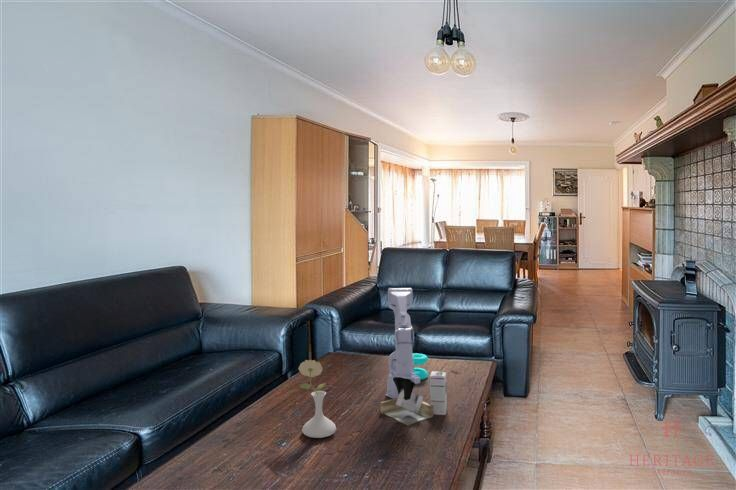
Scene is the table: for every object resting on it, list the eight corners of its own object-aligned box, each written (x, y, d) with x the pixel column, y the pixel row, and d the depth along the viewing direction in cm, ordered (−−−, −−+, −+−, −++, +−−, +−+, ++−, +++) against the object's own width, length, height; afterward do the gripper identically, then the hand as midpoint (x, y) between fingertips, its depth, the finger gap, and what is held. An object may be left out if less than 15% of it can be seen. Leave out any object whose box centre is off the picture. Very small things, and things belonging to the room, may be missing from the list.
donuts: (420, 359, 214) (401, 356, 220) (421, 382, 214) (401, 378, 220) (431, 354, 222) (412, 351, 228) (431, 376, 222) (413, 372, 228)
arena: (380, 413, 180) (380, 402, 180) (406, 404, 188) (406, 394, 188) (406, 426, 169) (406, 414, 169) (433, 416, 176) (433, 405, 176)
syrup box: (446, 415, 177) (445, 376, 177) (429, 414, 179) (429, 375, 178) (447, 409, 183) (446, 371, 182) (431, 408, 184) (430, 370, 184)
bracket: (408, 409, 179) (414, 393, 180) (417, 413, 175) (423, 397, 176) (395, 404, 175) (401, 388, 177) (404, 408, 171) (410, 391, 172)
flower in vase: (341, 429, 167) (340, 357, 166) (328, 443, 156) (326, 366, 155) (307, 424, 171) (305, 354, 170) (291, 438, 160) (290, 363, 159)
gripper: (383, 358, 179) (383, 395, 179) (409, 367, 167) (409, 406, 168) (397, 355, 183) (398, 390, 184) (424, 363, 171) (424, 401, 172)
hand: (404, 398), depth 176 cm, fingers closed on bracket, 2 cm apart
